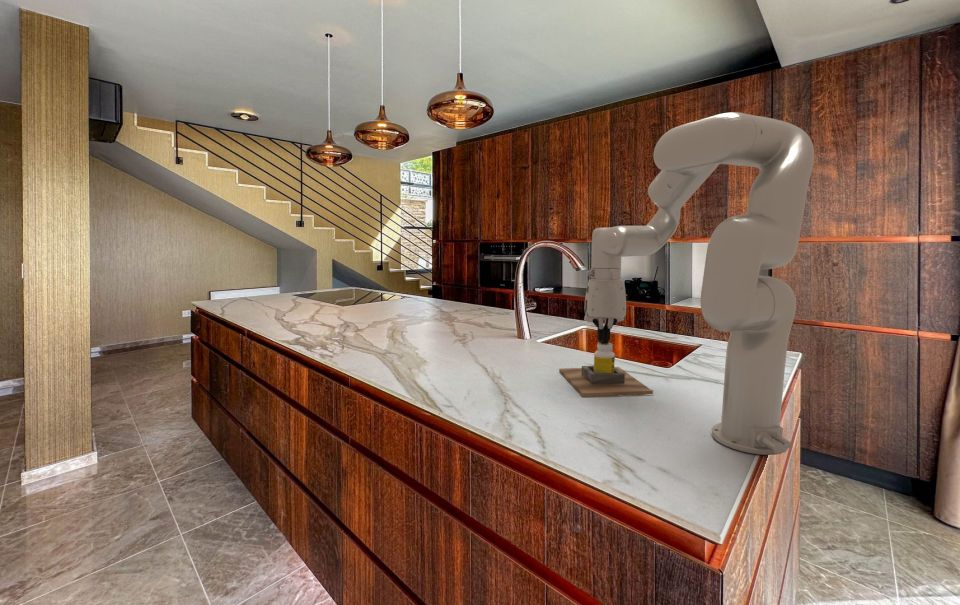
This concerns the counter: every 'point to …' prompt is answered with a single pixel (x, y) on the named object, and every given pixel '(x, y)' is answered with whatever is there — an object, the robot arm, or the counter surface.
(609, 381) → the collar board
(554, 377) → the counter surface
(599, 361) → the supplement bottle
